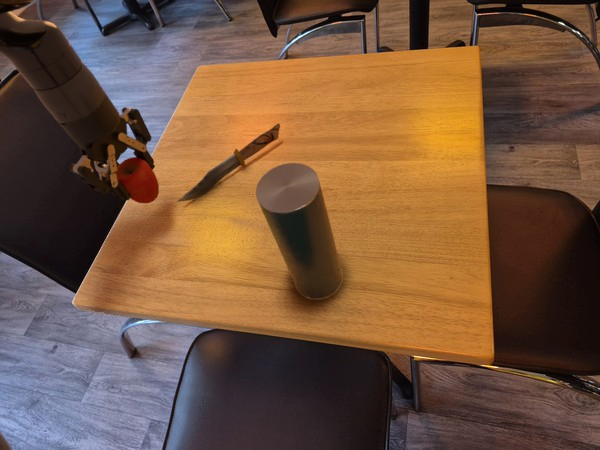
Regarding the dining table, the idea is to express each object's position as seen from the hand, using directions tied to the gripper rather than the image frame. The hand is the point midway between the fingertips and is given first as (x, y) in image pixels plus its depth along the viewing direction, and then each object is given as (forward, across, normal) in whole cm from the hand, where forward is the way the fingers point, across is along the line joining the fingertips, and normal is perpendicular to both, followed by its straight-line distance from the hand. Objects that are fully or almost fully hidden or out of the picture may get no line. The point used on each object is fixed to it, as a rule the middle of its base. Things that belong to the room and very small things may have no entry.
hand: (138, 182), depth 73 cm
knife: (+12, -14, +7) cm, 19 cm away
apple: (+4, 0, 0) cm, 4 cm away
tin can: (+12, +2, +32) cm, 34 cm away
